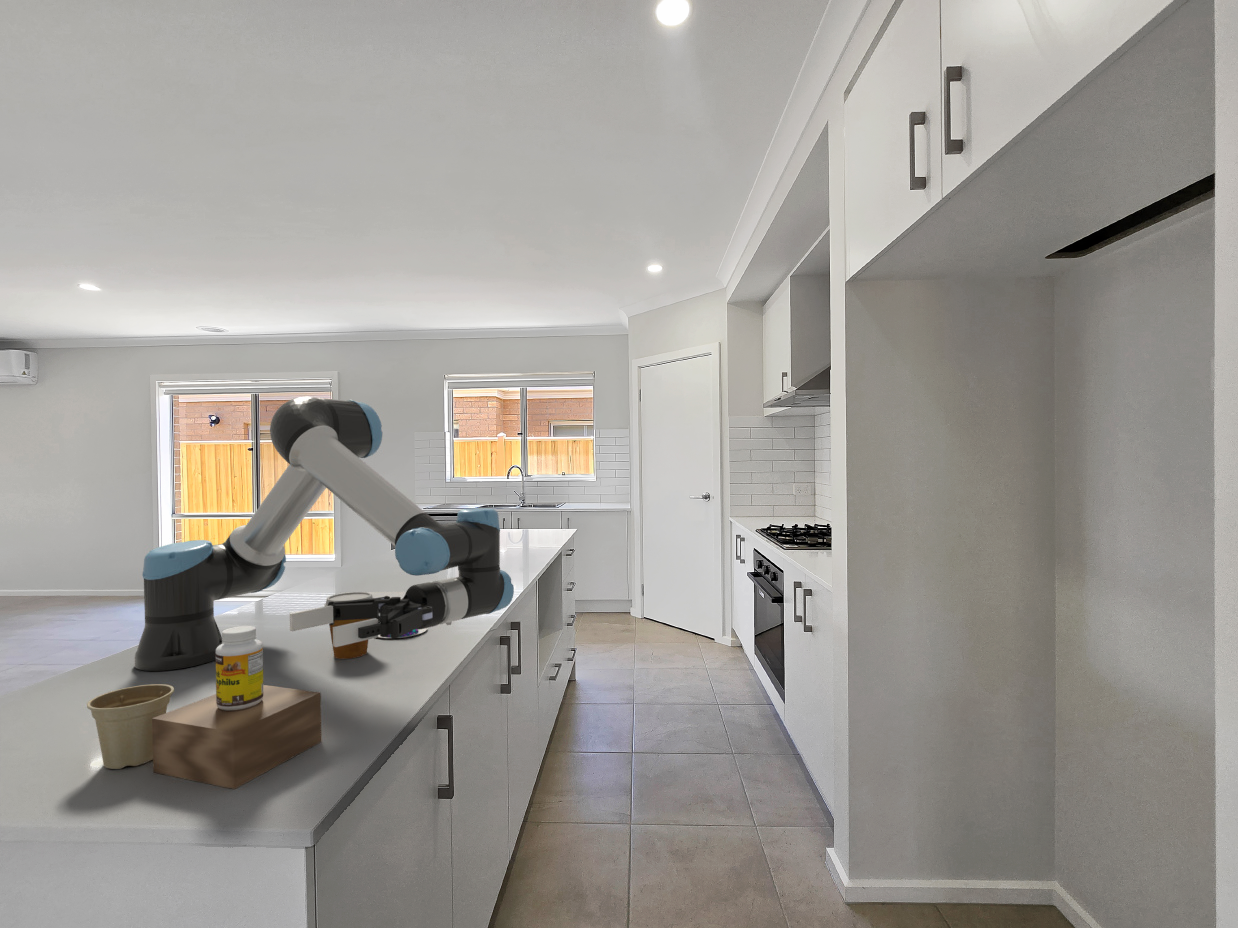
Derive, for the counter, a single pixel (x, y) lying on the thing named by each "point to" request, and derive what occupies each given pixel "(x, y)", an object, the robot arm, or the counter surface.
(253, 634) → the supplement bottle
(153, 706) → the flower pot
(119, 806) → the counter surface
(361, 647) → the disposable coffee cup
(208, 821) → the counter surface
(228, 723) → the block
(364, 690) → the counter surface
